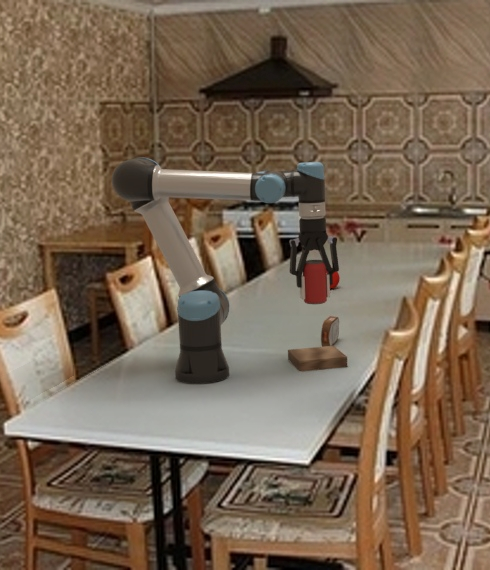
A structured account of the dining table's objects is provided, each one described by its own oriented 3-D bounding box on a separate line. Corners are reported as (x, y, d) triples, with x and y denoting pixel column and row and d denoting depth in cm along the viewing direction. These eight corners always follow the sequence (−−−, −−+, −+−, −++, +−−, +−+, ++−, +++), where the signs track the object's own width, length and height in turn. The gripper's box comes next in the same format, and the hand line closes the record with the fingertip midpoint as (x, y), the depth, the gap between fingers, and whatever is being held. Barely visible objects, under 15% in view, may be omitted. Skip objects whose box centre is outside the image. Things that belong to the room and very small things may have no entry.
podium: (299, 371, 269) (299, 361, 268) (288, 359, 282) (287, 349, 282) (347, 366, 271) (347, 356, 271) (333, 355, 285) (333, 345, 284)
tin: (331, 338, 306) (330, 313, 305) (341, 339, 305) (340, 313, 304) (320, 350, 292) (319, 323, 291) (330, 350, 291) (329, 323, 290)
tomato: (311, 286, 400) (311, 265, 399) (340, 286, 398) (339, 264, 397) (309, 291, 390) (309, 269, 388) (339, 291, 388) (338, 269, 386)
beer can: (331, 301, 274) (330, 260, 272) (317, 305, 269) (315, 263, 267) (313, 299, 278) (312, 258, 276) (299, 303, 273) (297, 262, 271)
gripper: (281, 220, 264) (284, 302, 268) (349, 216, 267) (351, 297, 271) (275, 218, 271) (279, 297, 275) (342, 213, 275) (344, 292, 279)
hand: (315, 297), depth 273 cm, fingers closed on beer can, 7 cm apart
